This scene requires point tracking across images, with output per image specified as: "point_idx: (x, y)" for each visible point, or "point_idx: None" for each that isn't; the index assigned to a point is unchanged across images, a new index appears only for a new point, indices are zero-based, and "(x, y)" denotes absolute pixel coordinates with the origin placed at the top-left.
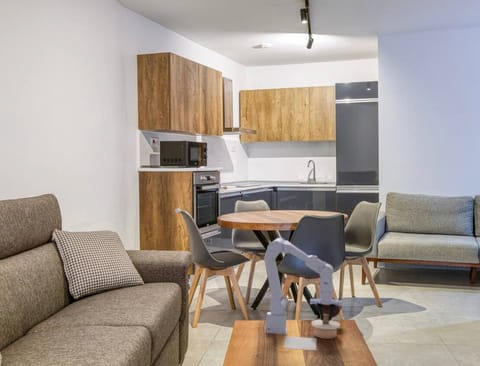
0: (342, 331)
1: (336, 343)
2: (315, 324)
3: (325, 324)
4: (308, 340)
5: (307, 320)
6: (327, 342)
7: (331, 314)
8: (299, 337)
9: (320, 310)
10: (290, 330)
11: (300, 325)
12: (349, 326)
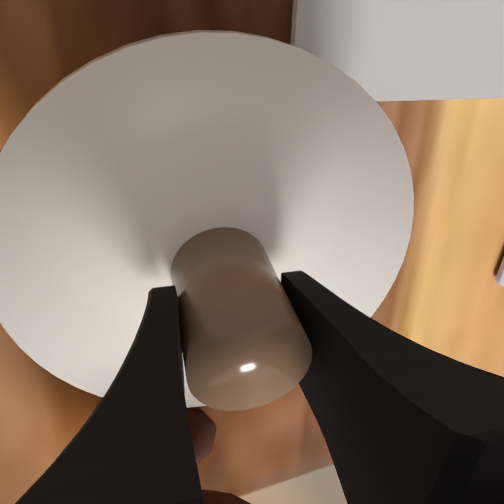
0: (41, 370)
1: (37, 5)
2: (374, 175)
3: (223, 219)
4: (386, 9)
5: (326, 456)
6: (160, 23)
7: (133, 363)
8: (459, 89)
9: (424, 368)
10: (476, 262)
11: None
12: (3, 476)
